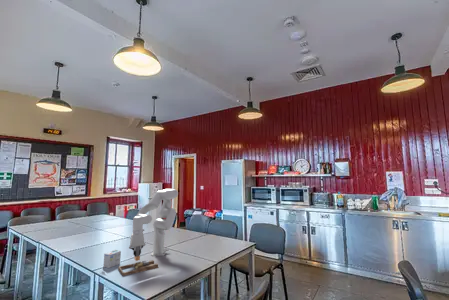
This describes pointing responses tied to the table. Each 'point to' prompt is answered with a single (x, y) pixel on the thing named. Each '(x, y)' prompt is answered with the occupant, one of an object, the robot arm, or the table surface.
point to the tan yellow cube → (138, 265)
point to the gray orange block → (137, 254)
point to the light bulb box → (112, 258)
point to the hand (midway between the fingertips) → (137, 254)
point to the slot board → (139, 269)
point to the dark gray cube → (145, 263)
